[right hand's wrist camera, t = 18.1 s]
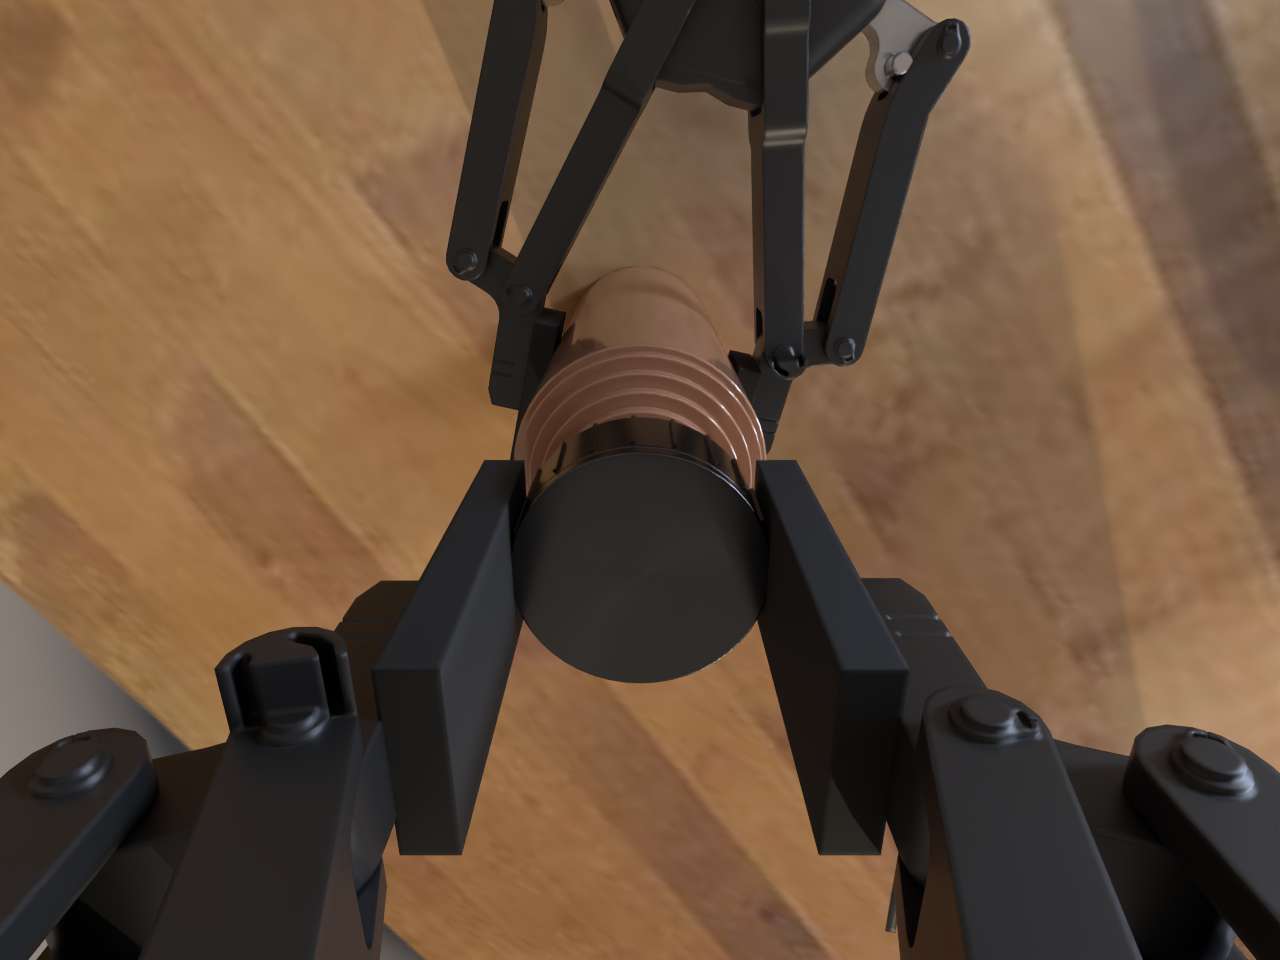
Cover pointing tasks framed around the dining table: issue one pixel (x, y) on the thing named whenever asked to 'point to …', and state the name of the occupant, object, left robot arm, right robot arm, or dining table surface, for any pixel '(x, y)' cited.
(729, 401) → the bottle
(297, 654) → the right robot arm
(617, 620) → the cap
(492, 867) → the dining table surface
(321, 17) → the dining table surface
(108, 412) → the dining table surface
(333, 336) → the dining table surface
